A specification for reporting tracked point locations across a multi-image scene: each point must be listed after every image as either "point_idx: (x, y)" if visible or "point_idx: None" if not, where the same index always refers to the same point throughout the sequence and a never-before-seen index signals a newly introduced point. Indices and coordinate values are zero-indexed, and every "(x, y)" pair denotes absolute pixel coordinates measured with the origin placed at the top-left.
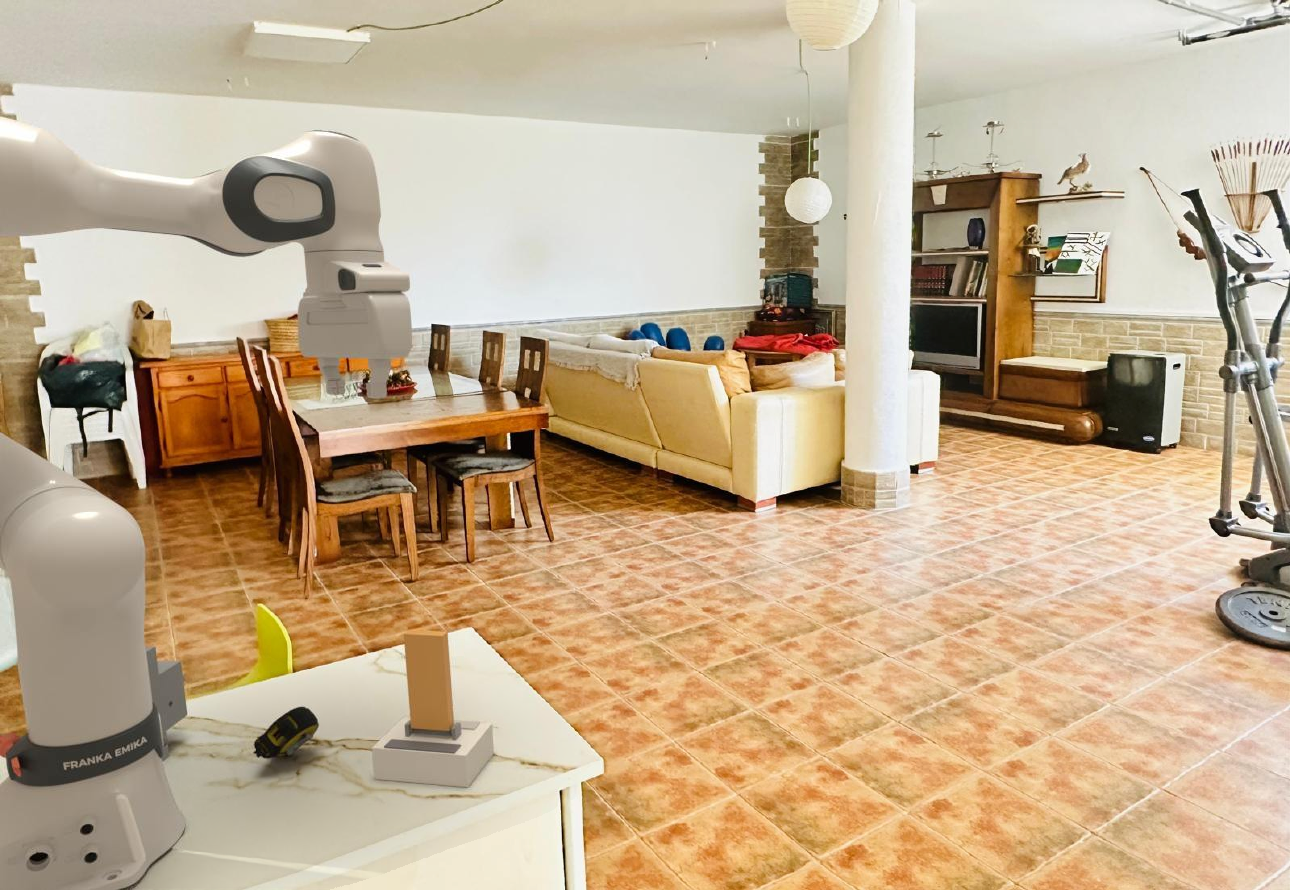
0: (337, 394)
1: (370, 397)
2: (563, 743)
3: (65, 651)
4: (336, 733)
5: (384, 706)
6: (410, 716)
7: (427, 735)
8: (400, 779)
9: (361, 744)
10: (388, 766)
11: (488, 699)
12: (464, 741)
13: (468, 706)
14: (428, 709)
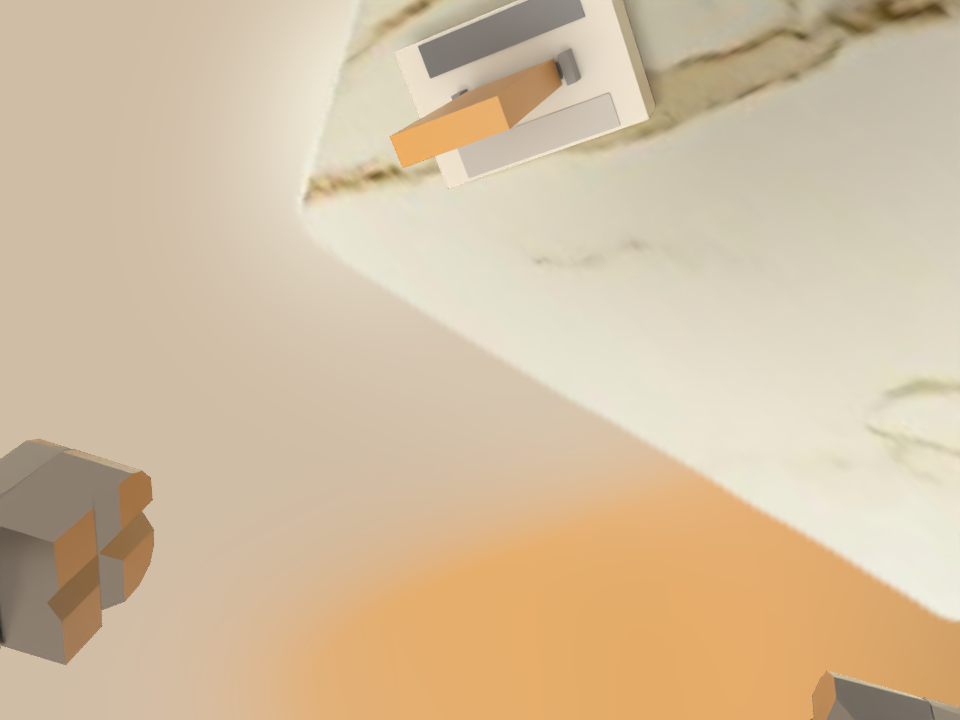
0: (812, 700)
1: (113, 464)
2: (380, 263)
3: None
4: (870, 69)
5: (858, 230)
6: (546, 62)
7: None
8: None
9: (763, 61)
10: None
11: (642, 354)
12: (440, 97)
13: (661, 311)
14: (497, 82)
